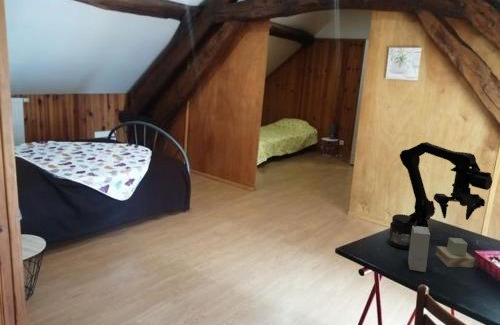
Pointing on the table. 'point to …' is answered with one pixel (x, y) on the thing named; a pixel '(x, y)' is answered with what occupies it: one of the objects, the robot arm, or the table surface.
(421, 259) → the skincare box
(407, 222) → the supplement container
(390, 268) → the table surface
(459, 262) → the birch block
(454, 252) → the sage cube
